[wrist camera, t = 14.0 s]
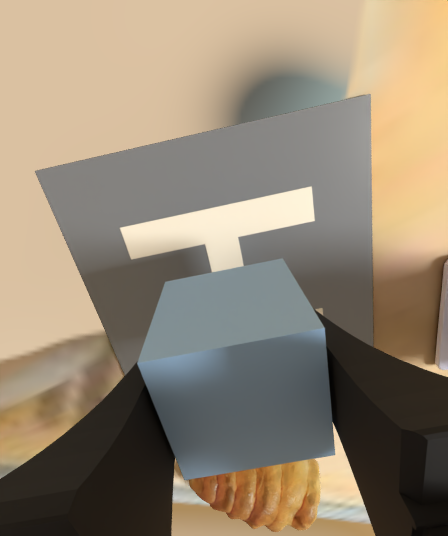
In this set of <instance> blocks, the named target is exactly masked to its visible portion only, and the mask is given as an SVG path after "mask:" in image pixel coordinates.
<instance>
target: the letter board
mask: <svg viewBox="0 0 448 536" xmlns="http://www.w3.org/2000/svg"><path fill="white" fill-rule="evenodd" d="M35 173H36V175H37V177H38V180H39V182H40V184H41V186H42V189H43V191H44V193H45V195H46V198H47V200H48V202H49V204H50V207H51V209H52V211H53V213H54V216H55V218H56V220H57V222H58V225H59V227H60V229H61V232H62V234H63V236H64V239H65V241H66V243H67V245H68V248H69V250H70V252H71V254H72V257H73V259H74V261H75V263H76V266H77V268H78V270H79V272H80V275H81V277H82V279H83V281H84V284H85V286H86V288H87V291H88V293H89V295H90V297H91V300H92V302H93V304H94V307H95V309H96V311H97V313H98V315H99V318H100V320H101V322H102V324H103V327H104V329H105V331H106V334H107V336H108V338H109V340H110V343H111V345H112V347H113V350H114V352H115V354H116V356H117V359H118V361H119V363H120V365H121V368H122V370H123V372H124V374H125V375H126V374H127V373H128V372H129V371H130V370H131V368H132V367H133V366H134V365H135V363H136V362H137V361H138V360H139V357H140V354H141V351H142V348H143V345H144V342H145V339H146V336H147V333H148V331H149V328H150V325H151V322H152V319H153V316H154V313H155V310H156V307H157V304H158V301H159V299H160V296H161V293H162V290H163V287H164V284H165V282H167V281H172V280H177V279H182V278H187V277H192V276H197V275H202V274H207V273H212V272H217V271H222V270H227V269H232V268H237V267H241V266H246V265H251V264H256V263H261V262H266V261H271V260H276V259H281V258H283V260H284V261H285V263H286V265H287V266H288V268H289V270H290V271H291V273H292V275H293V276H294V278H295V280H296V281H297V283H298V285H299V286H300V288H301V290H302V291H303V293H304V294H305V296H306V298H307V299H308V301H309V303H310V304H311V306H312V308H314V309H315V310H316V311H318V312H319V313H320V314H322V315H323V316H325V317H326V318H327V319H329V320H330V321H331V322H333V323H334V324H336V325H337V326H339V327H340V328H342V329H343V330H345V331H346V332H348V333H349V334H351V335H353V336H354V337H356V338H358V339H359V340H361V341H363V342H365V343H366V344H368V345H370V346H372V347H373V267H372V174H371V94H368V95H364V96H359V97H355V98H351V99H346V100H342V101H338V102H333V103H329V104H325V105H320V106H316V107H311V108H307V109H303V110H298V111H294V112H290V113H285V114H281V115H277V116H272V117H268V118H264V119H259V120H255V121H251V122H246V123H242V124H237V125H233V126H229V127H224V128H220V129H216V130H211V131H207V132H203V133H198V134H194V135H190V136H186V137H181V138H176V139H172V140H168V141H164V142H160V143H155V144H150V145H146V146H142V147H137V148H133V149H129V150H124V151H120V152H116V153H111V154H107V155H103V156H98V157H94V158H89V159H85V160H81V161H76V162H72V163H68V164H63V165H59V166H55V167H50V168H46V169H42V170H37V171H35Z"/></svg>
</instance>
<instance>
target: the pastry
mask: <svg viewBox="0 0 448 536" xmlns="http://www.w3.org/2000/svg"><path fill="white" fill-rule="evenodd" d="M189 485H190V487H191V488H192V489H193V490H194V491H195V492H196V494H197V495H198V496H199V497H200V498H201V499H202V500H204V501H206V502H207V503H209V504H210V506H211V507H212V508H213V509H215V510H218V511H222V512H226V514H227V515H228V517H229V518H231V519H241V520H243V521H245V522H246V523H247V524H248V525H249V526H250V527H251V528H253V529H256V528H258V527H260V526H263V525H265V526H266V527H267V528H268V529H270V530H271V531H273V532H278V531H281V530H282V529H283V528H284V527H285V526H286V525H290V526H292V527H293V528H295V529H297V530H306V529H308V528H309V527H310V526H311V525H312V523H313V522H314V521H315V519H316V517H317V508H318V505H319V503H320V474H319V466H318V463H317V461H316V460H315V459H308V460H302V461H296V462H291V463H285V464H279V465H273V466H267V467H261V468H255V469H249V470H243V471H237V472H231V473H225V474H219V475H213V476H207V477H201V478H195V479H190V480H189Z"/></svg>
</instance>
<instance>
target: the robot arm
mask: <svg viewBox="0 0 448 536" xmlns="http://www.w3.org/2000/svg"><path fill="white" fill-rule="evenodd" d="M313 309H314V308H313ZM314 311H315V313H316V314H317V316H318V318H319V319H320V321H321V323H322V324H323V326H324V328H325V338H326V350H327V362H328V374H329V386H330V398H331V411H332V422H333V424H334V426H335V428H336V430H337V433H338V435H339V437H340V440H341V443H342V445H343V448H344V451H345V453H346V456H347V458H348V461H349V464H350V466H351V469H352V472H353V474H354V477H355V480H356V483H357V485H358V488H359V491H360V493H361V496H362V499H363V502H364V505H365V507H366V510H367V513H368V516H369V518H370V521H371V524H372V527H373V530H374V533H375V535H376V536H448V377H445V376H442V375H439V374H436V373H433V372H430V371H427V370H425V369H422V368H419V367H417V366H414V365H412V364H409V363H407V362H404V361H402V360H399V359H397V358H395V357H392V356H390V355H388V354H386V353H384V352H382V351H380V350H378V349H376V348H374V347H372V346H370V345H368V344H366V343H365V342H363V341H361V340H359V339H358V338H356V337H354V336H353V335H351V334H349V333H348V332H346V331H345V330H343V329H342V328H340V327H339V326H337V325H336V324H334V323H333V322H331V321H330V320H329V319H327V318H326V317H325V316H323V315H322V314H320V313H319V312H318V311H316V310H315V309H314ZM137 362H138V361H137ZM137 362H136V363H135V365H134V366H133V367H132V368H131V370H130V371H129V372H128V373H127V374H126V375H125V376H124V378H123V379H122V380H121V381H120V382H119V383H118V384H117V385H116V387H115V388H114V389H113V390H112V391H111V392H110V393H109V394H108V395H107V396H106V397H105V398H104V399H103V400H102V401H101V402H100V403H99V404H98V405H97V406H96V407H95V408H94V409H93V410H92V411H91V412H90V413H88V414H87V415H86V416H85V417H84V418H83V419H81V420H80V421H79V422H78V423H77V424H76V425H74V426H73V427H72V428H71V429H70V430H68V431H67V432H66V433H65V434H64V435H62V436H61V437H60V438H59V439H57V440H56V441H55V442H53V443H52V444H51V445H49V446H48V447H47V448H45V449H44V450H43V451H41V452H40V453H38V454H37V455H36V456H34V457H33V458H31V459H30V460H28V461H27V462H26V463H24V464H23V465H21V466H20V467H18V468H16V469H15V470H13V471H12V472H10V473H9V474H7V475H6V476H4V477H3V478H1V479H0V536H171V524H172V497H173V478H174V462H175V455H174V453H173V450H172V448H171V445H170V443H169V441H168V438H167V436H166V433H165V431H164V428H163V426H162V423H161V421H160V418H159V416H158V413H157V411H156V408H155V406H154V404H153V401H152V399H151V396H150V394H149V391H148V389H147V386H146V384H145V381H144V379H143V376H142V374H141V371H140V369H139V367H138V364H137ZM435 364H436V366H437V367H438V368H439V369H441V370H447V369H448V260H447V261H446V262H445V264H444V271H443V281H442V292H441V303H440V314H439V324H438V335H437V346H436V356H435Z"/></svg>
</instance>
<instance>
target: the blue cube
mask: <svg viewBox="0 0 448 536" xmlns="http://www.w3.org/2000/svg"><path fill="white" fill-rule="evenodd" d="M137 364H138V367H139V369H140V371H141V374H142V376H143V379H144V381H145V384H146V386H147V389H148V391H149V394H150V396H151V399H152V401H153V404H154V406H155V408H156V411H157V413H158V416H159V418H160V421H161V423H162V426H163V428H164V431H165V433H166V436H167V438H168V441H169V443H170V445H171V448H172V450H173V453H174V455H175V458H176V460H177V463H178V465H179V468H180V470H181V473H182V475H183V478H184V480H189V479H195V478H201V477H207V476H213V475H219V474H225V473H231V472H237V471H243V470H249V469H255V468H261V467H267V466H273V465H279V464H285V463H291V462H296V461H302V460H308V459H314V458H320V457H326V456H332V455H335V447H334V435H333V423H332V411H331V398H330V386H329V374H328V362H327V350H326V338H325V328H324V326H323V324H322V323H321V321H320V319H319V318H318V316H317V314H316V313H315V311H314V309H313V308H312V306H311V304H310V303H309V301H308V299H307V298H306V296H305V294H304V293H303V291H302V290H301V288H300V286H299V285H298V283H297V281H296V280H295V278H294V276H293V275H292V273H291V271H290V270H289V268H288V266H287V265H286V263H285V261H284V260H283V258H281V259H276V260H271V261H266V262H261V263H256V264H251V265H246V266H241V267H237V268H232V269H227V270H222V271H217V272H212V273H207V274H202V275H197V276H192V277H187V278H182V279H177V280H172V281H167V282H165V284H164V287H163V290H162V293H161V296H160V299H159V301H158V304H157V307H156V310H155V313H154V316H153V319H152V322H151V325H150V328H149V331H148V333H147V336H146V339H145V342H144V345H143V348H142V351H141V354H140V357H139V360H138V362H137Z"/></svg>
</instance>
